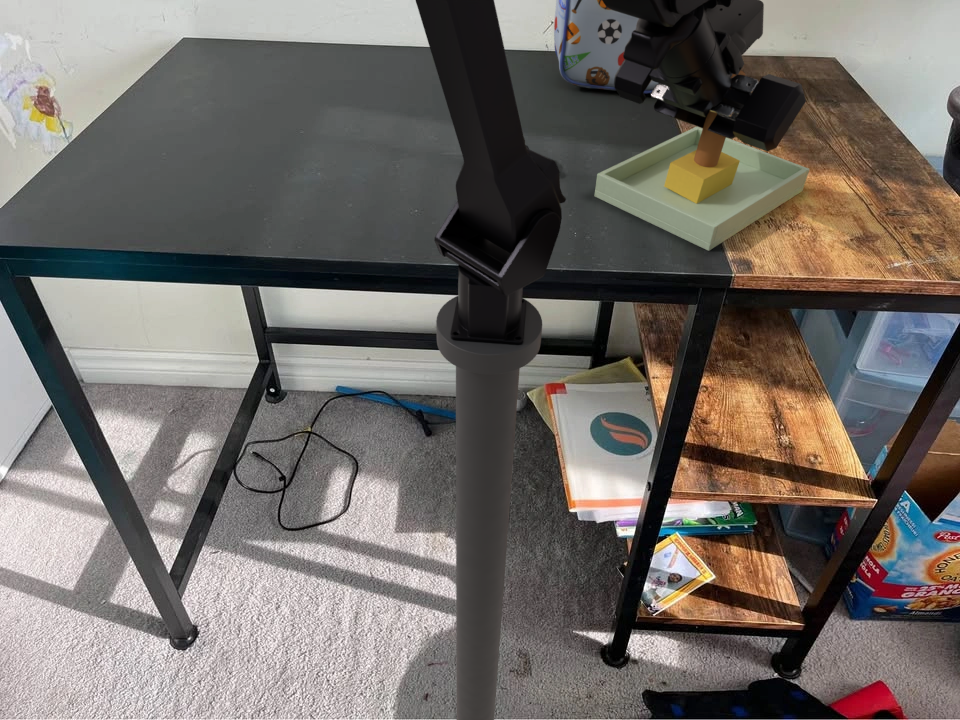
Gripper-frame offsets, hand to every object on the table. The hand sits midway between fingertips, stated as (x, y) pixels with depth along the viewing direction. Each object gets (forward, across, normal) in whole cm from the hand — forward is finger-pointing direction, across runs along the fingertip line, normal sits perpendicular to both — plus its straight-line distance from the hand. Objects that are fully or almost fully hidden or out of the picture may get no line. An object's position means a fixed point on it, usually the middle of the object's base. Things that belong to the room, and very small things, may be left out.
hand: (722, 130), depth 81 cm
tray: (+4, 0, +6) cm, 7 cm away
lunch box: (+20, +24, -9) cm, 33 cm away
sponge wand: (+3, 0, +6) cm, 6 cm away
